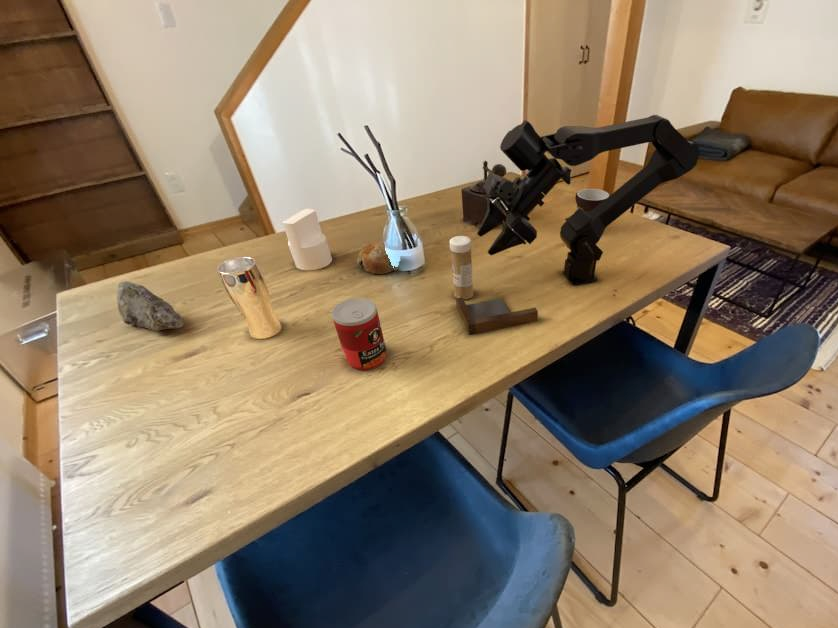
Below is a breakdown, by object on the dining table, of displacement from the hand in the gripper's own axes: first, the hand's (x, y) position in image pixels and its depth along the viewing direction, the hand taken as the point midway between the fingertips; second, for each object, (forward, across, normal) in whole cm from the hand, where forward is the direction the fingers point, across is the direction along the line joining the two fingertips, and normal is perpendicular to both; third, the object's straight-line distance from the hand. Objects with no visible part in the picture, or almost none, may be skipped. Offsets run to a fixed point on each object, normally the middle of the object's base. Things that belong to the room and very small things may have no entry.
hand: (483, 244), depth 93 cm
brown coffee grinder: (0, -37, +17) cm, 41 cm away
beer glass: (+42, +2, -25) cm, 49 cm away
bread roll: (+24, -20, -7) cm, 32 cm away
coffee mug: (-18, -26, +35) cm, 47 cm away
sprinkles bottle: (+12, 0, +5) cm, 13 cm away
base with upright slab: (+36, -27, -19) cm, 49 cm away
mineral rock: (+58, -6, -41) cm, 71 cm away
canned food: (+28, +17, -11) cm, 34 cm away
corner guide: (+8, +9, +8) cm, 15 cm away
